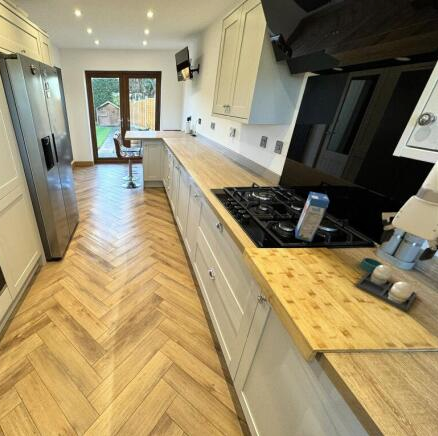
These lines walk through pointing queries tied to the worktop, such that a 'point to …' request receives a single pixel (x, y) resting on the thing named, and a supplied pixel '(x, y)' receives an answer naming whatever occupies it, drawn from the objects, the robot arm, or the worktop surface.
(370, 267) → the egg cup
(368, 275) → the egg tray
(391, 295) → the egg
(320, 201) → the milk carton
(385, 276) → the egg
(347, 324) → the worktop surface
